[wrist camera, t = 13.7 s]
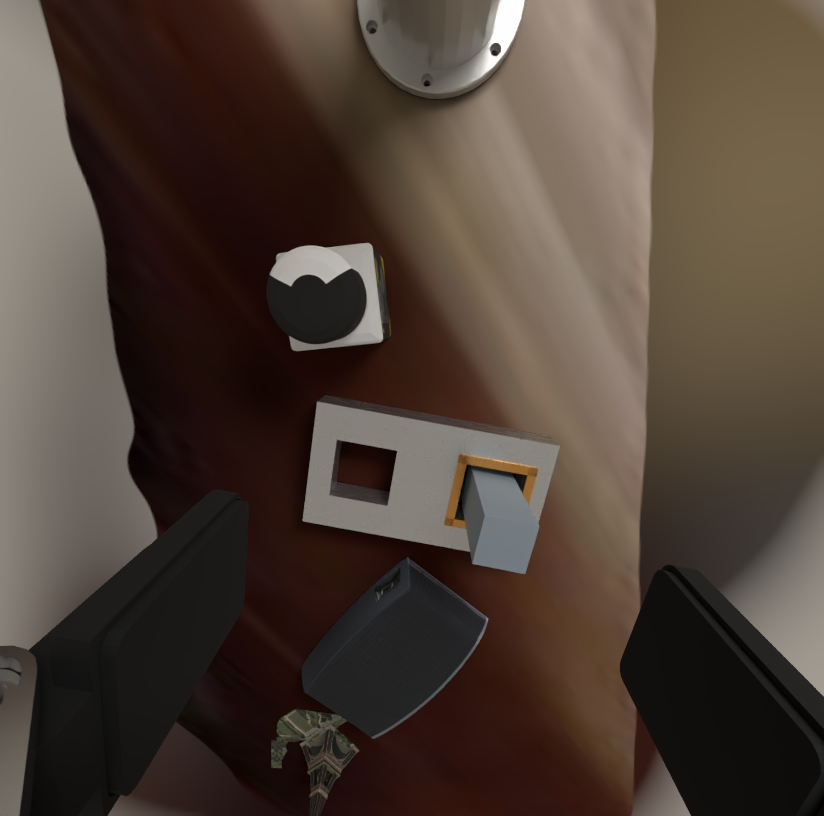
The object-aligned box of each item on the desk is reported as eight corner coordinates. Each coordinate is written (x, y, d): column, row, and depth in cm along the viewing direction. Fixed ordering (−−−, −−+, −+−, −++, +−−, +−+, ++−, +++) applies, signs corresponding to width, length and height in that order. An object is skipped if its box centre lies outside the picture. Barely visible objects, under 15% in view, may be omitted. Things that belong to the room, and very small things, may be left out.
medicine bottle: (391, 337, 36) (374, 348, 25) (316, 344, 37) (264, 359, 25) (382, 255, 35) (359, 226, 23) (304, 264, 35) (242, 240, 24)
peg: (469, 460, 39) (484, 515, 28) (509, 468, 39) (539, 526, 28) (460, 496, 40) (472, 563, 29) (499, 504, 40) (524, 574, 29)
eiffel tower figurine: (395, 714, 48) (383, 864, 35) (389, 776, 50) (376, 939, 37) (272, 701, 48) (214, 846, 35) (272, 764, 50) (218, 921, 37)
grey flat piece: (325, 394, 38) (316, 402, 35) (550, 435, 38) (560, 446, 35) (311, 506, 41) (301, 522, 38) (520, 544, 41) (527, 563, 38)
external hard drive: (493, 618, 44) (499, 649, 40) (383, 719, 48) (379, 756, 44) (402, 549, 42) (400, 574, 38) (297, 659, 46) (284, 691, 42)
